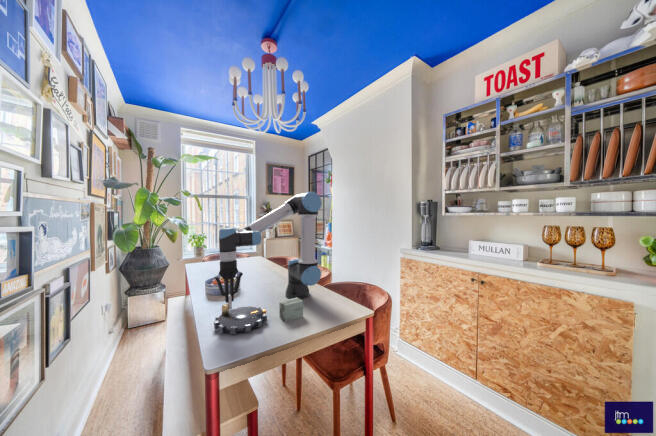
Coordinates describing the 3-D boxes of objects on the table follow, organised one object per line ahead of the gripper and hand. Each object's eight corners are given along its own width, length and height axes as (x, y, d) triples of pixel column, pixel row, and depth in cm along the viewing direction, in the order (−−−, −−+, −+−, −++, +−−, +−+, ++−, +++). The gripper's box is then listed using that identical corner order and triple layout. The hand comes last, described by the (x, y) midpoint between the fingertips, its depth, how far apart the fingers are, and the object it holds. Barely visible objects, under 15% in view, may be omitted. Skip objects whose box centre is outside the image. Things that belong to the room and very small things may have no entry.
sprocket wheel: (202, 331, 98) (202, 315, 97) (234, 309, 120) (234, 296, 120) (251, 336, 93) (251, 320, 93) (274, 313, 116) (274, 299, 116)
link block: (279, 317, 113) (279, 301, 113) (297, 312, 119) (297, 297, 119) (284, 322, 108) (284, 305, 108) (303, 316, 114) (303, 300, 114)
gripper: (215, 263, 102) (217, 314, 103) (244, 259, 110) (245, 307, 110) (212, 260, 108) (213, 309, 109) (239, 257, 116) (241, 302, 116)
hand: (229, 308), depth 110 cm, fingers closed
